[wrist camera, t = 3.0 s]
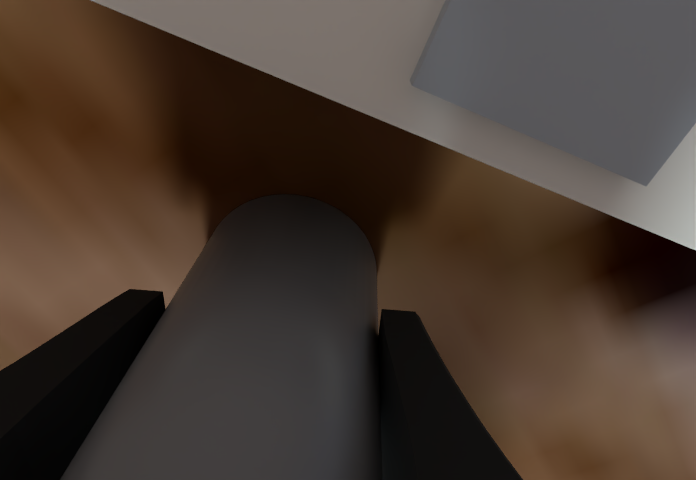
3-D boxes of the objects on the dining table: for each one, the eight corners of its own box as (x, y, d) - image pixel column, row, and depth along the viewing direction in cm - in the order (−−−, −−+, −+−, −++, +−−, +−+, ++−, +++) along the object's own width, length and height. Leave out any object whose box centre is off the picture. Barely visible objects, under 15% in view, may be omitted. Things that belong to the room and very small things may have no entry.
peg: (405, 232, 10) (482, 760, 3) (339, 356, 12) (301, 862, 5) (230, 166, 10) (-124, 641, 3) (190, 307, 12) (-82, 805, 5)
